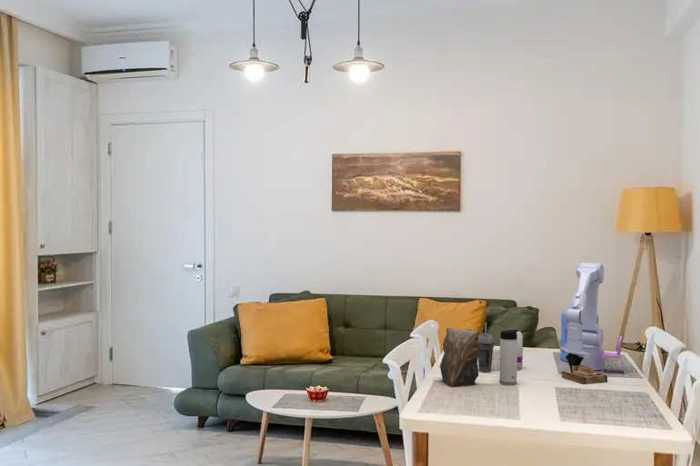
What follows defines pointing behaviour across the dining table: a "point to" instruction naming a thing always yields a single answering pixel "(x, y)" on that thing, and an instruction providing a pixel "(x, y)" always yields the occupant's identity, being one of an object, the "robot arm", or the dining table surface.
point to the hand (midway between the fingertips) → (574, 373)
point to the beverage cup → (485, 351)
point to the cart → (583, 370)
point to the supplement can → (519, 350)
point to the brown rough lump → (460, 357)
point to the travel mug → (508, 357)
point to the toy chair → (614, 355)
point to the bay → (585, 378)
